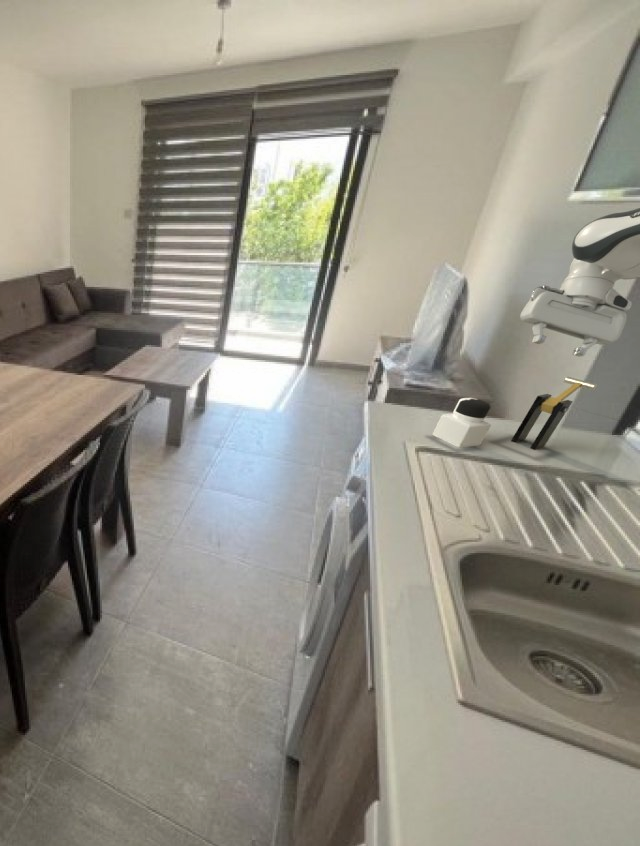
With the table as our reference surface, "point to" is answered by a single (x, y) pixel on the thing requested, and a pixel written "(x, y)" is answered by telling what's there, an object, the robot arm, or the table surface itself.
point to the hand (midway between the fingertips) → (557, 349)
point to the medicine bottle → (464, 423)
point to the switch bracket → (549, 425)
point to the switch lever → (566, 393)
